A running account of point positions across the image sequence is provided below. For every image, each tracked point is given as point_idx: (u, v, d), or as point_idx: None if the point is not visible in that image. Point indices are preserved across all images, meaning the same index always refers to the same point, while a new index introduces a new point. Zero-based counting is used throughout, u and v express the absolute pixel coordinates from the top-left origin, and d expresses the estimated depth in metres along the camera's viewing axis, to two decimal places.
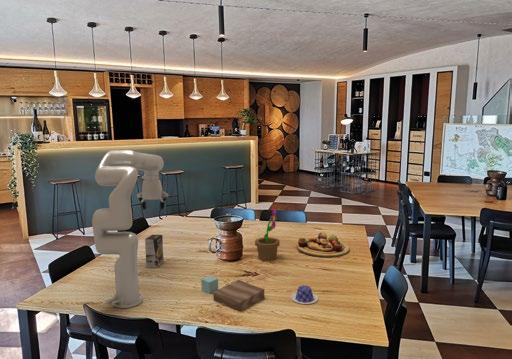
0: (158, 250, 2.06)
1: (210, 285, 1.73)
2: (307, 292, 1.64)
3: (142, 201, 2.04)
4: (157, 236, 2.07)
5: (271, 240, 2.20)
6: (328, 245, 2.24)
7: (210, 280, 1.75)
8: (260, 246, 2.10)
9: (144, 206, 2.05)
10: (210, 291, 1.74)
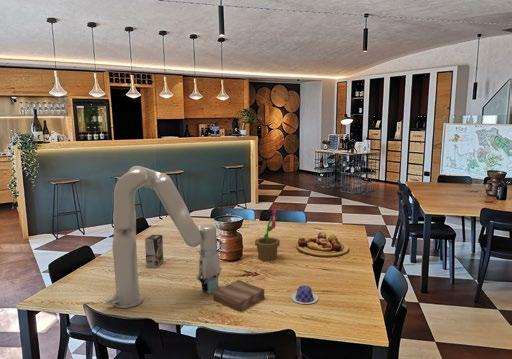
0: (158, 250, 2.06)
1: (210, 285, 1.73)
2: (306, 292, 1.64)
3: (205, 282, 1.73)
4: (157, 236, 2.07)
5: (271, 240, 2.20)
6: (328, 245, 2.25)
7: (210, 280, 1.75)
8: (260, 246, 2.10)
9: (207, 287, 1.74)
10: (210, 291, 1.74)
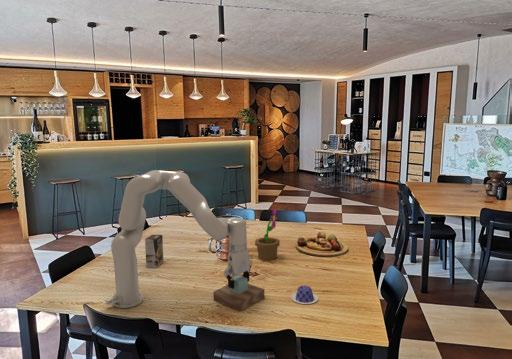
0: (158, 250, 2.06)
1: (239, 285, 1.63)
2: (304, 292, 1.64)
3: (232, 278, 1.61)
4: (157, 236, 2.07)
5: (271, 240, 2.20)
6: (327, 244, 2.25)
7: (239, 280, 1.65)
8: (260, 246, 2.10)
9: (233, 284, 1.62)
10: (239, 292, 1.64)
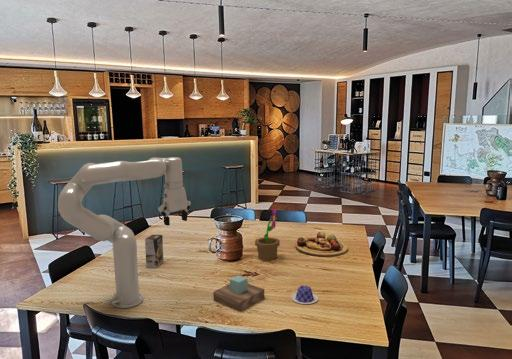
0: (158, 250, 2.06)
1: (239, 285, 1.63)
2: (303, 292, 1.64)
3: (167, 215, 1.64)
4: (157, 236, 2.07)
5: (271, 240, 2.20)
6: (327, 244, 2.25)
7: (239, 280, 1.65)
8: (260, 246, 2.10)
9: (169, 221, 1.65)
10: (239, 292, 1.64)
